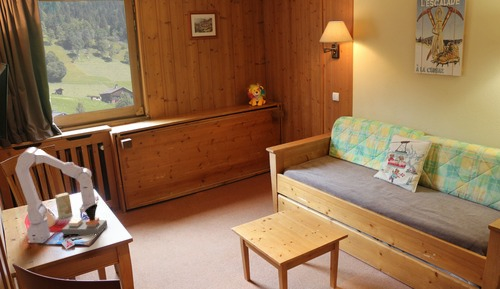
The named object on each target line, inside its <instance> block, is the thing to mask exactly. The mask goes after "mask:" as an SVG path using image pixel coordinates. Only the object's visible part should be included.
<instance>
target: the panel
mask: <svg viewBox="0 0 500 289" xmlns="http://www.w3.org/2000/svg"><path fill="white" fill-rule="evenodd" d="M87 220H88V219H82V221H83V222H82V223H81V224H80V225H79V226H78V227H71V226H69V223H68V224H66V225H65V226H64V227H63V228H62V229H61V232H62V235H63V234H78V235H77V236H98V235H99V234H100V233H102V232H103V231H104V230H105V229H106V228H107V226H108V222H107V219H99V222H98V224H97V225H96V226H95V227H88V225H86V221H87ZM95 234H96V235H95Z"/></svg>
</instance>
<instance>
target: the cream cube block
mask: <svg viewBox="0 0 500 289" xmlns="http://www.w3.org/2000/svg"><path fill="white" fill-rule="evenodd" d="M82 220H83V218H72V219H71V220H70V221H69V222H68V224H69V226H71V227H78V226H79V225H80V224H81V223H82V222H83V221H82Z"/></svg>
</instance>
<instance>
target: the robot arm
mask: <svg viewBox="0 0 500 289" xmlns="http://www.w3.org/2000/svg"><path fill="white" fill-rule="evenodd" d="M34 163H35V164H36V165H39V164H43V163H45V164H47V165H49V166H51V167H55V168H57V169H60V170H61V172H62V174H64V175H66V176H69V177H70V178H74V179H76V182H78V183H79V189H80V194H81V200H82V204H81V206H80V207H79V213H85V215H87V217H88V219H89V220H94V219H95V218H96V214H97V213H96V211H97V207H98V203H99V202H98V201H99V200H100V199H99V198H100V197H99V196H95V191H94V185H93V184H94V183H93V181H92V178H91V177H92V176H93V175H92V171H91V169H89V168H88V167H83V166H81V167H80V166H79V165H76V164H75V162H73V161H70V162H69V161H67V162H64V161H62V160H61V159H58V158H56V157H55V156H52V155H51V154H48V153H47V152H45V151H44V150H43V149H39V148H38V147H36V146H31V147H30V146H29V147H28V148H26V150H25V151H23V152H22V153H21V154H20V155H19V157H17V163H16V165H15V169H14V170H15V173H16V176H17V179H18V182H19V184H20V187H21V190H22V192H23V195H24V198H25V201H26V204H27V210H26V211H27V221H28V222H30V225H29V226H28V228H27V229H26V230H27V231H26V233H27V236H28V241H27V243H29V244H30V243H31V244H34V243H35V244H36V243H37V244H42V243H45V242H46V241H48V240H49V239H50V238H51V237H52V236H53V235H54V234H55V232H51V230H50V226H49V222H48V217H47V215H46V214H47V212H48V208H47V207H46V205H44V204H43V201H42V200H40V198H39V195H38V191H37V190H36V186H35V184H34V180H33V178H32V175H31V173H30V167H32V165H33V164H34Z"/></svg>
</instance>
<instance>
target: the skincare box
mask: <svg viewBox="0 0 500 289" xmlns="http://www.w3.org/2000/svg"><path fill="white" fill-rule="evenodd" d="M54 197H55V204H56V210H57V216H58V217H59V218H60V219H64V218H67V217H71V216H73V210H72V203H71V198H70V194H69V193H68V192H64V193H59V194H55V195H54Z"/></svg>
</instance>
